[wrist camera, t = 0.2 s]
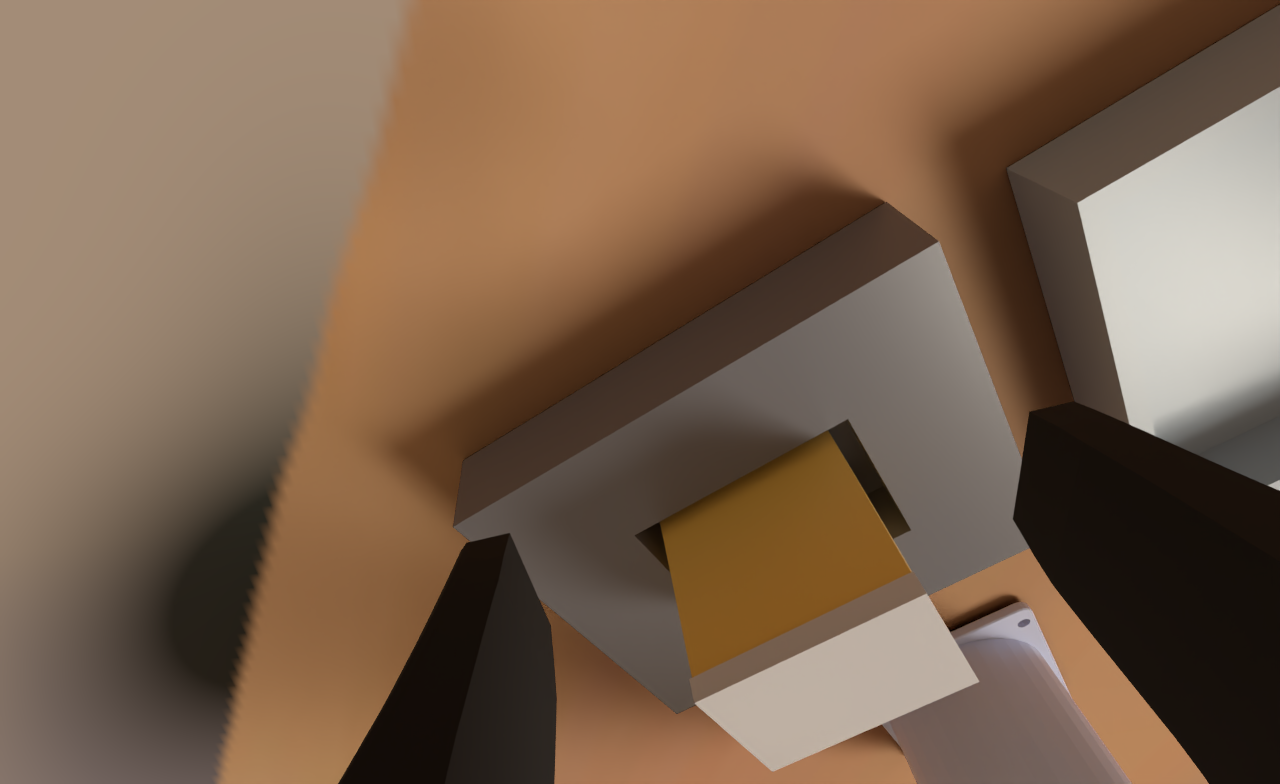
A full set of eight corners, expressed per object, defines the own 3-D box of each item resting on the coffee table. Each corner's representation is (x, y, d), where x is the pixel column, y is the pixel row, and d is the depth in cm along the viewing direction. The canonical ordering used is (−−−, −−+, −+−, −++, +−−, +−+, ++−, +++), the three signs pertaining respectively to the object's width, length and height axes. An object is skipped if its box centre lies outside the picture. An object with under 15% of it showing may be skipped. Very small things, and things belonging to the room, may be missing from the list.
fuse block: (1002, 479, 24) (1051, 537, 21) (665, 647, 27) (676, 713, 24) (886, 201, 18) (939, 241, 15) (463, 460, 20) (452, 527, 18)
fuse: (862, 484, 22) (979, 681, 16) (713, 561, 23) (772, 772, 17) (812, 400, 20) (926, 593, 14) (651, 490, 21) (694, 703, 15)
